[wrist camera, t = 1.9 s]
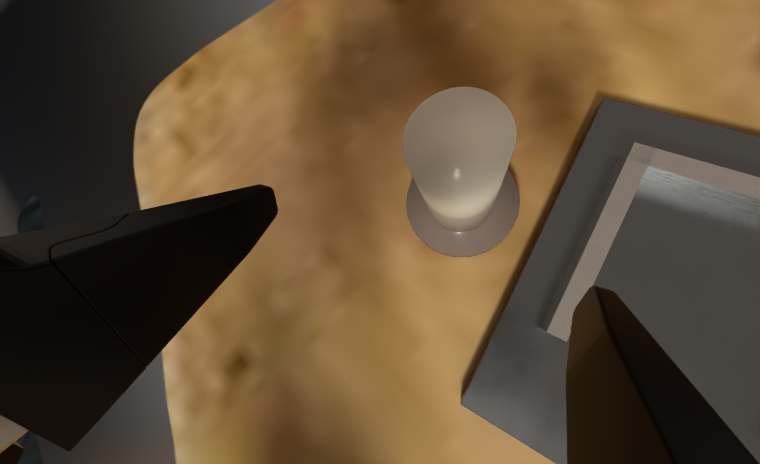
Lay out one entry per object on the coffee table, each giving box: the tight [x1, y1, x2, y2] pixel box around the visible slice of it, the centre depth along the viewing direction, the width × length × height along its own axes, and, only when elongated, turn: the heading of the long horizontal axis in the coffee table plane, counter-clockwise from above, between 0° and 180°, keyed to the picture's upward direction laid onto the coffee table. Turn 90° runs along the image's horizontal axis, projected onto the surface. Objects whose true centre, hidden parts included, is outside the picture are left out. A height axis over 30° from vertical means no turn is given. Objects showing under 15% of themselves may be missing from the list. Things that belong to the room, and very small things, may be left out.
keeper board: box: [461, 98, 760, 464], centre depth 14 cm, size 20×20×2 cm
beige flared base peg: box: [402, 87, 520, 257], centre depth 16 cm, size 7×7×10 cm
